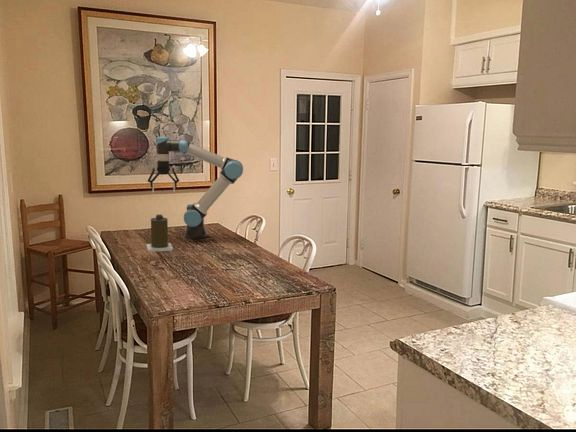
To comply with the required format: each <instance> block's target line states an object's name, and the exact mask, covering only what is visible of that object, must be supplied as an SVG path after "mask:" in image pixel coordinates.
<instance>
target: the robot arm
mask: <svg viewBox="0 0 576 432" xmlns="http://www.w3.org/2000/svg"><path fill="white" fill-rule="evenodd" d="M156 139H157V140H156V154H157V155H156V159H157V161H156V162H157V164H156V165H157V168H156V167H152V170H151V173H150V175H149V177H148V178H147V182H148V183H150V188H151V190H152V191H151V193H152V194H154V193H155V188H154V187H155V183H154V181H155V180H156V179H157V178H158V177H159V176H160V175H161V176H163V175H164V176H165V175H167V176H169V177H170V179H171V180H172V181H173V183H172V185H173V186H172V187H173V188H172V189H173V191H172V192H173V193H176V188H177V186H178V184H177V183H180V179H179V177H178V175H177V174H176V171H175V168H174V167H170V161H169V160H170V152H177V153H184V154H186V155H189V156H191V157H193V158H196V159H199V160H201V161H203V162H206V163H208V164H210V165H212V166H216V167H218V168H220V172H219V176H218V178H217V179H216V180H215V181H214V182H213V184H211V186H210V187H209V188H208V189H207V191H206V192H205V193H204V194H203V195H202V196H201V198H199V200H198V201H197V202H193V203H192V204H189V203H188V204H187V205H186V211H185V213H183V222H184V223H185V225H186V228H185V231H184V238H185V239H190V240H191V239H192V240H194V239H195V240H196V239H197V240H198V239H204V238H206V237H207V232H206V229H205V226H204V225H205V218H206V216H207V215H208V210H210V208H211V206H213V205H214V204H215V202H216V201H217V200H218V199H219V198H220V196H221V195H222V194H223V193H224V192H225V190H226V189H228V187H229V186H230V185H233V184H235V182H237V181H238V179H239V178H240V177H241V176H242V175H243V173H244V166H243V164H242V163H241V161H239V160H237V159H233V158H230V157H228V156H226V157H223V156H221V155H219V154H217V153H214V152H212V151H210V150H207V149H205V148H202V147H200V146H199V145H198V146H197V145H195V144H193V143H190V142H188V141H187V140H184V139H177V140H176V139H174V140H172V139H170V138H169V137H168V136H158V137H157V138H156ZM156 171H157V172H156ZM170 171H171V172H172V174H173V176H174V177H175V178H174V177H173V176H172V175H171V173H170ZM155 172H156V174H155V175H154V173H155ZM152 177H153V178H152Z"/></svg>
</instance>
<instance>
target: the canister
mask: <svg viewBox="0 0 576 432" xmlns="http://www.w3.org/2000/svg"><path fill="white" fill-rule="evenodd" d="M168 219H169V218H167V217H164V216H163V214H156V215H155V217H153V218H150V237H151V238H150V240H151V241H150V244H151V247H153V248H164V247H167V246H168V243H169V242H168V241H169V237H168V236H169V234H168V233H169V232H168Z"/></svg>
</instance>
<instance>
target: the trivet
mask: <svg viewBox="0 0 576 432" xmlns="http://www.w3.org/2000/svg"><path fill="white" fill-rule="evenodd" d="M146 249H147V252H148V253H153V252H154V253H157V252H172V251H174V247H173V246H172V244H171V242H168V246H167V247H164V248H153V247H151V243H146Z"/></svg>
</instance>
